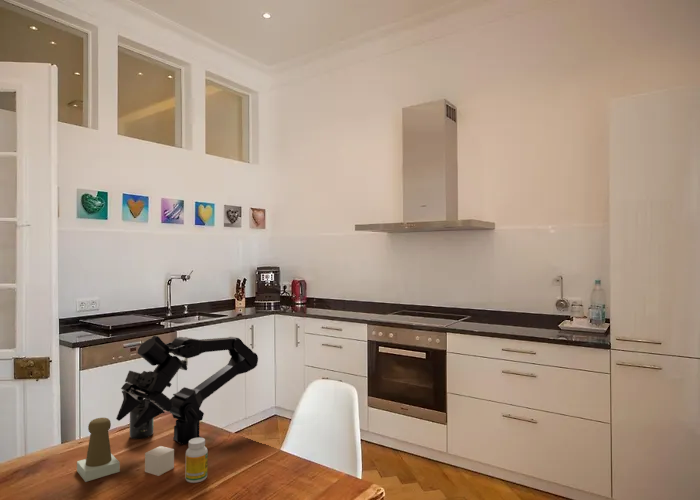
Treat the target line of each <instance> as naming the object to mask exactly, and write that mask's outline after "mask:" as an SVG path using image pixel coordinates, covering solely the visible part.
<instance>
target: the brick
mask: <svg viewBox="0 0 700 500" xmlns="http://www.w3.org/2000/svg"><path fill="white" fill-rule="evenodd" d="M173 469H175V449H174V448H171V447H166V446H162V445H159V446H157V447H155V448H152V449H151V450H148V451H147V452H144V472H145V473H148V474H151V475H155V476H157V477H159V476H161V475H163V474H164V473H167V472H169V471H171V470H173Z"/></svg>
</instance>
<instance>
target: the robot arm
mask: <svg viewBox="0 0 700 500" xmlns="http://www.w3.org/2000/svg"><path fill="white" fill-rule="evenodd" d="M218 351H219V352H220V351H228V353H229V355H230V359H229V360H228V363H227V364H226V365H225V366H223V367H222V368H220V369H219V370H217V371H216V372H215V373H213V374H212V375H211V376H209V377H208V378H206V379H205V380H204V381H202V382H201V383H200V384H198V385H197V386H196V387H194V388H192V389H191V388H188V387H185V386H184V387H183V388H182V387H181V389H180V390H179V391H177V392H176V393H173V394H172V397H171V398H169V397H168V396H167V395H166V394H164V393H163V392H164V391H165V389H166V388H170V387H172V383H171V381H172V380H173V378H174V377H175V376H176V375H177V373H178V372H179V371H180V370H183V371H188V365H187V360H183V359H182V360H181V359H180V358H179V357H181V358H184V359H191V358H194V357H197V356H199V355H201V354H203V353H210V352H218ZM137 354H138V355H139V356H140V357H141V358H143V360H145V361H146V362H147V363H148V364H149V365H151V366H153V367H154V366H156V367H155V369H153V371H152V370H148V371H145V370H143V371H142V372H137V371H133V370H129V371H128V373H127V375H126V378H125V380H124V382H125V383H124V384H123V385H122V387H121V388H120V389H121V393H122V397H123V400H122V402H121V406H120V408H119V411H118V413H117V416H116V418H115V419H116V420H117V421H118V422H119V421H121V420H122V419H124V418H126V416H127V415H128V414H130V412H131V411H132V410H133V409H134V408H136V407H137V406H138V405H139V404H140V402H139V401H141V400H143V399H145V408H144V409H143V411H142V412H141V414H140V415H139V417H138V419H137V420H136V422H135V424H134V425H133V427H134V428H138V427H140V426H141V425H143V424H144V423H146V422H148V421H149V420H151V419H152V418H154V419H155V418H156V417H158V416H160V415H161V414H165V412H168V413H170V414H171V416H172V418H173V419H175V425H174V426H173V437H172V440H174V441H175V442H177V443H178V444H180V446H183V445H186V444H189V440H191V439H193V438H203V437H202V436H200V421H202V420H203V418H204V415H205V413H204V411H202V410H201V406H202V404H203V402H204V401H205V400H206V399H207V398H208V397H209V398H210V396H211V395H213V394H214V393H215V392H217V391H218V390H220V388H221V387H223V386H225V385H226V384H227V383H229V382H230V381H231V380H233V379H234V378H235V377H236V376H238V375H241V374H245V373H248V372H250V371H251V370H254V369H255V368H256V367H257V366H258V362H259V357H258V354H257V353H256V352H254V351H253V350H252V349H251V348H250V347H249V346H248V345H246V344H245V343H244V342H243V341H242V339H241V338H239V337H236V336H228V337H217V338H216V337H215V338H206V339H205V338H204V339H197V338H192V337H186V336H185V337H183V336H178V337H175V338H174V339H173V340H172V341H170V342H166V343H165V342H164V341H162V338H160V337H159V336H158V335H152V337H151V338H149V339H147V340H146V341H144V342H143V343H141V344H140V345H139V347H138V349H137ZM171 354H173V355H171ZM138 400H139V401H138ZM149 400H150V401H149Z"/></svg>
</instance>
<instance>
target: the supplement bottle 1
mask: <svg viewBox="0 0 700 500" xmlns="http://www.w3.org/2000/svg"><path fill="white" fill-rule="evenodd" d="M138 401H139V400H138ZM149 401H150V400H149ZM139 402H140V404H139V405H138V406H137V407H136V408H134V409H133V410H132V411H131V412H130V413H129V437H130V438H131V439H133V440H143V439H146V438H150V437H151V436H152V435H153V434H154V419H155V417H154V418H152V419H151V420H149V421H148V422H146V423H144V424H143V425H141V426H140V427H138V428H134V427H133V425H134V424H135V422H136V420H137V419H138V417H139V415H140V414H141V412H142V411H143V409H144V408H145V399H143V400H141V401H139Z"/></svg>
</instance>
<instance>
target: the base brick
mask: <svg viewBox="0 0 700 500" xmlns="http://www.w3.org/2000/svg"><path fill="white" fill-rule="evenodd" d="M111 458H112V460H111V461H110V462H109V463H107V464H105V465H101V466H95V467H91V466H87V465H86V458H84V459H80V460H77V461H76V471H77V473H78V474H79V476H80V477H81V478H82V479H83V481H84V482H85V483H87V482H89V481H93V480H96V479H99V478H103V477H106V476H109V475H113V474H116V473H120V472H121V469H120V467H121V464H120V463H121V462H120V460H118V459H117V458H116V457H115V456H114V454H112V453H111Z"/></svg>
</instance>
